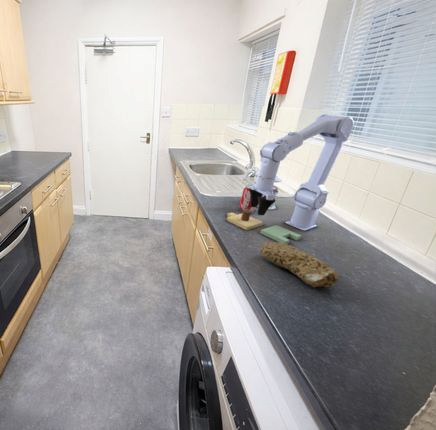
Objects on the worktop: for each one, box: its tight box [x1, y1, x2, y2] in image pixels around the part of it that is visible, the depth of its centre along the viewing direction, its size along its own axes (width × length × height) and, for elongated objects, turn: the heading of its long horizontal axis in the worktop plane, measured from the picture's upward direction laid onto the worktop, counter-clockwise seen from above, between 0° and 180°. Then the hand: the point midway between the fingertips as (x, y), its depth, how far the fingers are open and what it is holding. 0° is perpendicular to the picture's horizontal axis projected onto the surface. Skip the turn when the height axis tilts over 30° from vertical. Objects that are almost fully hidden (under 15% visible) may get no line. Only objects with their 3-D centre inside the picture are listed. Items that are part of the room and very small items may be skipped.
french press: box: [256, 175, 283, 210], centre depth 125 cm, size 10×12×25 cm
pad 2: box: [260, 224, 302, 245], centre depth 103 cm, size 10×10×2 cm
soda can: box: [238, 184, 257, 214], centre depth 122 cm, size 7×7×12 cm
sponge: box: [259, 241, 340, 288], centre depth 82 cm, size 13×8×20 cm
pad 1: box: [226, 210, 264, 231], centre depth 113 cm, size 10×13×6 cm
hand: (257, 210), depth 102 cm, fingers open, 7 cm apart
